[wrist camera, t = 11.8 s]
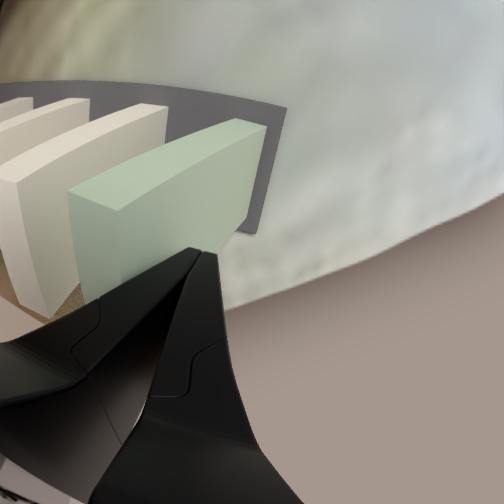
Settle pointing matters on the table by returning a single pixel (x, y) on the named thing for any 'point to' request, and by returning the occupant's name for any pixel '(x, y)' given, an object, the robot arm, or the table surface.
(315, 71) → the table surface
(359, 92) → the table surface
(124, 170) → the domino
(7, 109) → the domino
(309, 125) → the table surface
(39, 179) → the domino
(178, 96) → the mat
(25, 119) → the domino
